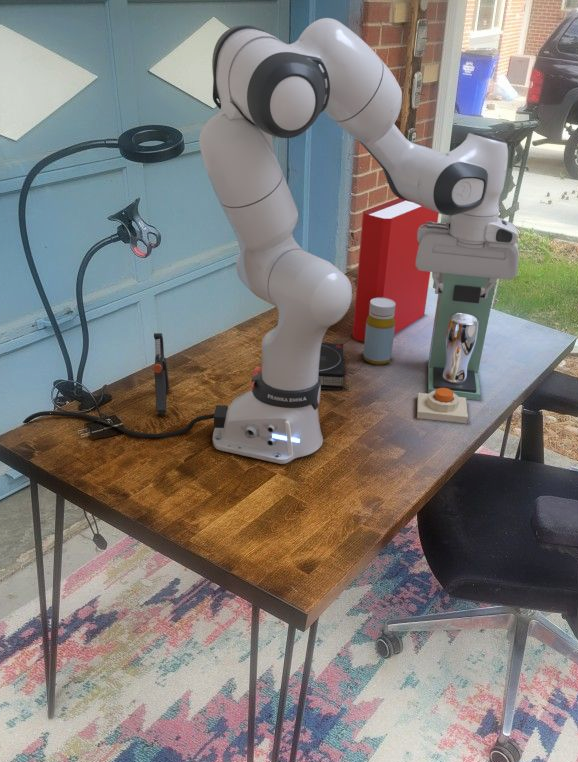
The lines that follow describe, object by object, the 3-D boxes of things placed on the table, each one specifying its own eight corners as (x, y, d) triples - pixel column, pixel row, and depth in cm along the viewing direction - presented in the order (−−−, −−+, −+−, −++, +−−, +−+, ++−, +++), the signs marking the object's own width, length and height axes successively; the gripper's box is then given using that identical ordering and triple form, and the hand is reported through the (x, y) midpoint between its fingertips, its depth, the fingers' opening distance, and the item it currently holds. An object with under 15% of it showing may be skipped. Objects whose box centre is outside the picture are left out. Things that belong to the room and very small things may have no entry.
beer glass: (467, 387, 169) (479, 326, 160) (438, 382, 170) (447, 321, 161) (469, 374, 175) (480, 314, 166) (441, 369, 176) (450, 310, 167)
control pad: (416, 418, 161) (419, 404, 158) (417, 399, 168) (419, 385, 166) (466, 423, 160) (469, 409, 158) (464, 404, 167) (467, 390, 165)
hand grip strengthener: (155, 418, 153) (149, 352, 144) (159, 390, 163) (153, 327, 154) (167, 418, 153) (161, 352, 144) (169, 390, 163) (164, 327, 154)
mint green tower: (426, 394, 170) (444, 280, 153) (426, 361, 184) (442, 253, 168) (480, 400, 169) (503, 286, 153) (476, 366, 184) (497, 259, 168)
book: (400, 308, 212) (414, 192, 192) (424, 315, 208) (440, 198, 189) (349, 337, 193) (359, 212, 173) (375, 346, 189) (388, 219, 170)
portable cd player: (271, 387, 167) (271, 371, 165) (276, 355, 181) (276, 340, 179) (342, 391, 168) (343, 375, 166) (341, 358, 182) (343, 344, 179)
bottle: (376, 368, 179) (382, 310, 170) (357, 357, 183) (362, 300, 174) (396, 361, 183) (403, 304, 174) (377, 351, 187) (383, 294, 178)
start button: (434, 402, 161) (435, 395, 160) (434, 393, 164) (435, 386, 163) (452, 404, 160) (453, 397, 159) (452, 395, 164) (453, 388, 163)
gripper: (419, 225, 137) (409, 295, 146) (526, 235, 137) (511, 306, 145) (419, 216, 143) (410, 284, 151) (523, 226, 142) (508, 295, 150)
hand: (460, 295), depth 148 cm, fingers open, 8 cm apart
